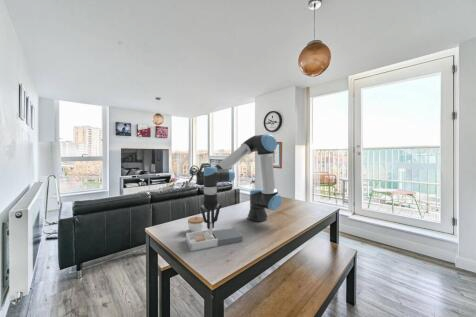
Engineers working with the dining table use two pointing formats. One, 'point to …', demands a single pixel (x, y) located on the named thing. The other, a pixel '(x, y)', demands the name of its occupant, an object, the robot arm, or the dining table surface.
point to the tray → (202, 244)
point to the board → (227, 236)
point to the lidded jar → (196, 224)
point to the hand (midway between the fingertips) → (210, 233)
